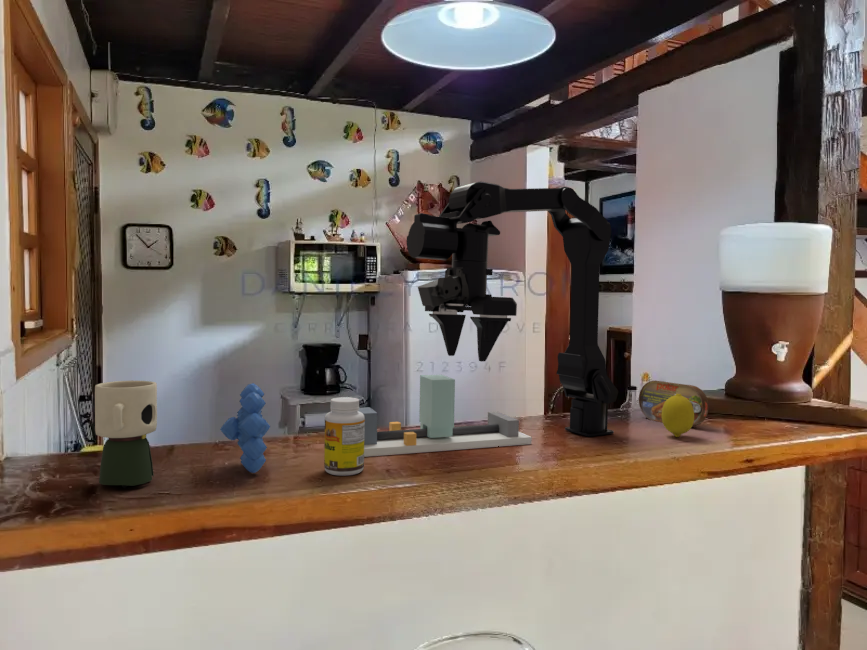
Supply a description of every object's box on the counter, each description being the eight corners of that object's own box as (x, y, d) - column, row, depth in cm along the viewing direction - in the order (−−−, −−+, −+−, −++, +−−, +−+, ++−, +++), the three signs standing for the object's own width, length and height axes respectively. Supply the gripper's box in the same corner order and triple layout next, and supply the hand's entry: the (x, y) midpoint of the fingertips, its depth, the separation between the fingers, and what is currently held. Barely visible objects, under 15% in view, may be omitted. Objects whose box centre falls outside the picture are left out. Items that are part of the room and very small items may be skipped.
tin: (637, 417, 131) (638, 377, 130) (646, 416, 132) (648, 377, 132) (700, 431, 118) (702, 387, 117) (710, 429, 119) (712, 386, 119)
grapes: (220, 460, 91) (219, 379, 91) (267, 457, 93) (267, 378, 93) (220, 483, 80) (220, 392, 80) (273, 479, 82) (273, 390, 82)
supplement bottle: (320, 467, 88) (320, 397, 88) (357, 464, 90) (358, 395, 90) (329, 478, 83) (330, 403, 83) (368, 474, 85) (370, 401, 85)
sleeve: (440, 429, 107) (441, 374, 107) (453, 437, 102) (455, 379, 101) (419, 430, 106) (420, 375, 106) (431, 438, 100) (432, 380, 100)
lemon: (658, 438, 111) (660, 394, 111) (663, 432, 116) (664, 390, 116) (691, 442, 108) (693, 397, 108) (694, 436, 113) (696, 392, 113)
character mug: (149, 496, 75) (148, 389, 74) (84, 500, 73) (83, 391, 72) (163, 470, 85) (163, 377, 85) (106, 473, 83) (106, 378, 83)
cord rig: (504, 431, 114) (505, 398, 114) (531, 444, 105) (532, 407, 104) (344, 442, 104) (345, 405, 103) (358, 457, 94) (359, 417, 94)
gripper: (399, 261, 103) (396, 353, 104) (458, 256, 87) (454, 365, 88) (455, 265, 109) (451, 353, 110) (520, 261, 93) (516, 364, 94)
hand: (466, 358), depth 100 cm, fingers open, 9 cm apart
